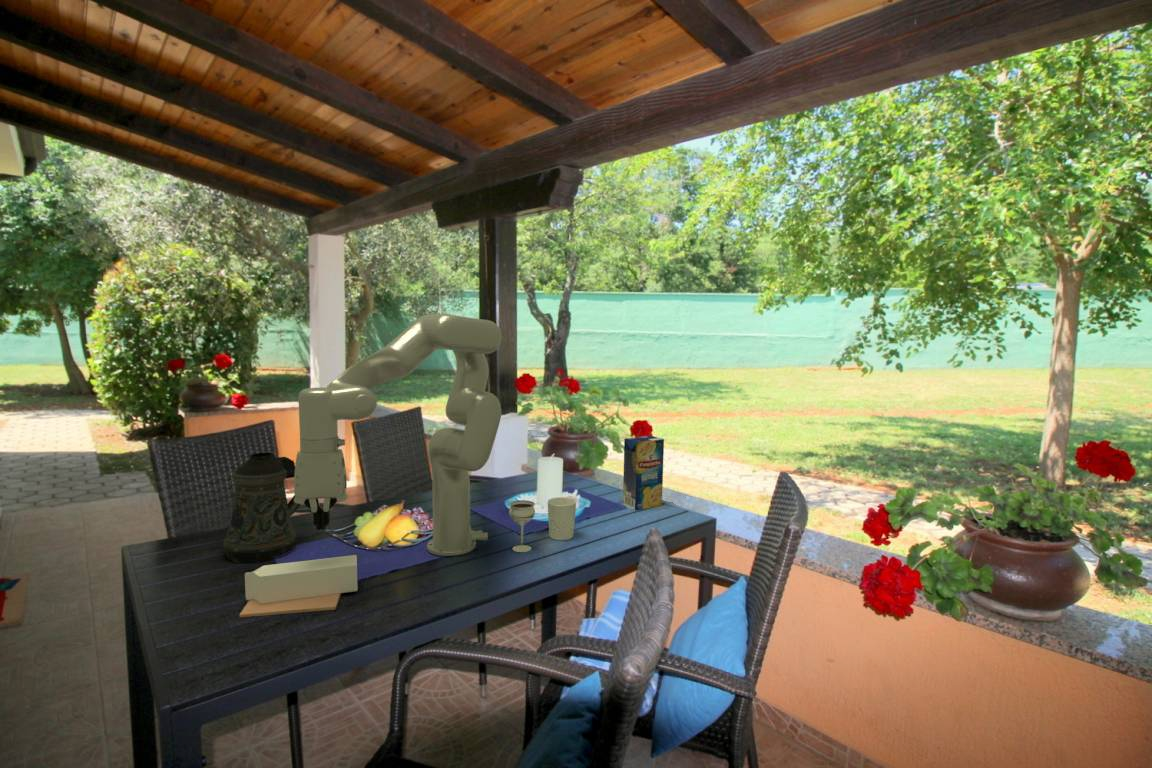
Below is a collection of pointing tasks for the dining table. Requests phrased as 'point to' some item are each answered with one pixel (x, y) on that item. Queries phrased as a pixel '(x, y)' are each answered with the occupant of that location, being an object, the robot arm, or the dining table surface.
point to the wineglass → (522, 518)
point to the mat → (291, 606)
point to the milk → (302, 579)
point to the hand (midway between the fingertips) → (321, 527)
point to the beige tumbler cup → (561, 518)
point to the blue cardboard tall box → (643, 472)
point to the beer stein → (261, 510)
